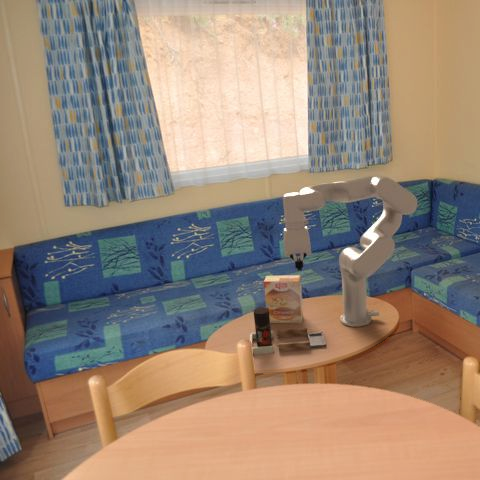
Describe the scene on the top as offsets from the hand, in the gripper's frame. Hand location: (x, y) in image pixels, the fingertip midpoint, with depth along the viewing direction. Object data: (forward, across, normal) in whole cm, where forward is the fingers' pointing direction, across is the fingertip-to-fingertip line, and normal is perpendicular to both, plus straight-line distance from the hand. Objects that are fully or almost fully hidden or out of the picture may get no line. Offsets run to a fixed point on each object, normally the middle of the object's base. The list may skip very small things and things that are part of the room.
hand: (299, 269), depth 183 cm
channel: (+27, +6, +10) cm, 29 cm away
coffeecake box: (+27, +7, -11) cm, 30 cm away
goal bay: (+26, +18, +10) cm, 33 cm away
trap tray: (+27, -3, +10) cm, 29 cm away
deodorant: (+27, +17, +10) cm, 33 cm away
